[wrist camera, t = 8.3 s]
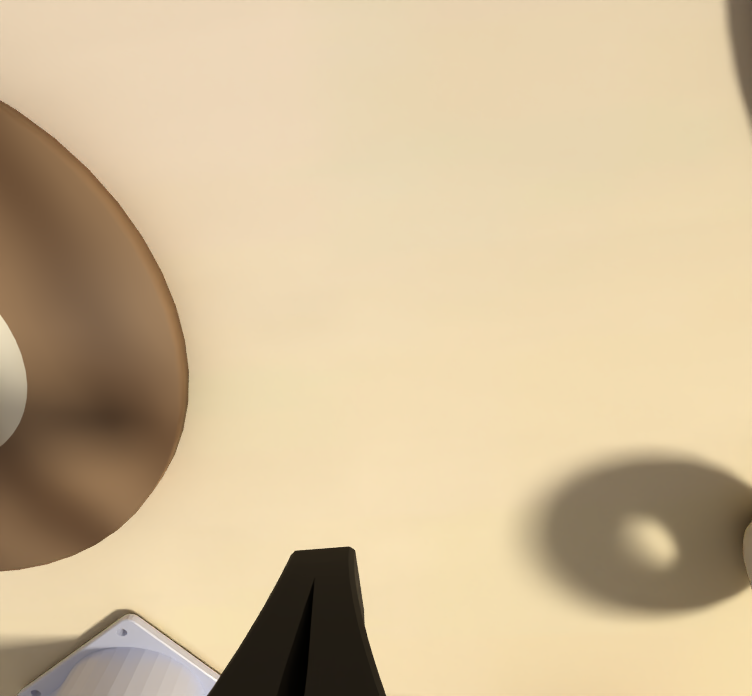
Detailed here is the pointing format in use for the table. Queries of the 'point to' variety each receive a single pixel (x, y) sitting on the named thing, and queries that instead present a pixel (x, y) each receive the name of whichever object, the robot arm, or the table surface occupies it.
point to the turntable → (77, 355)
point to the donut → (748, 551)
